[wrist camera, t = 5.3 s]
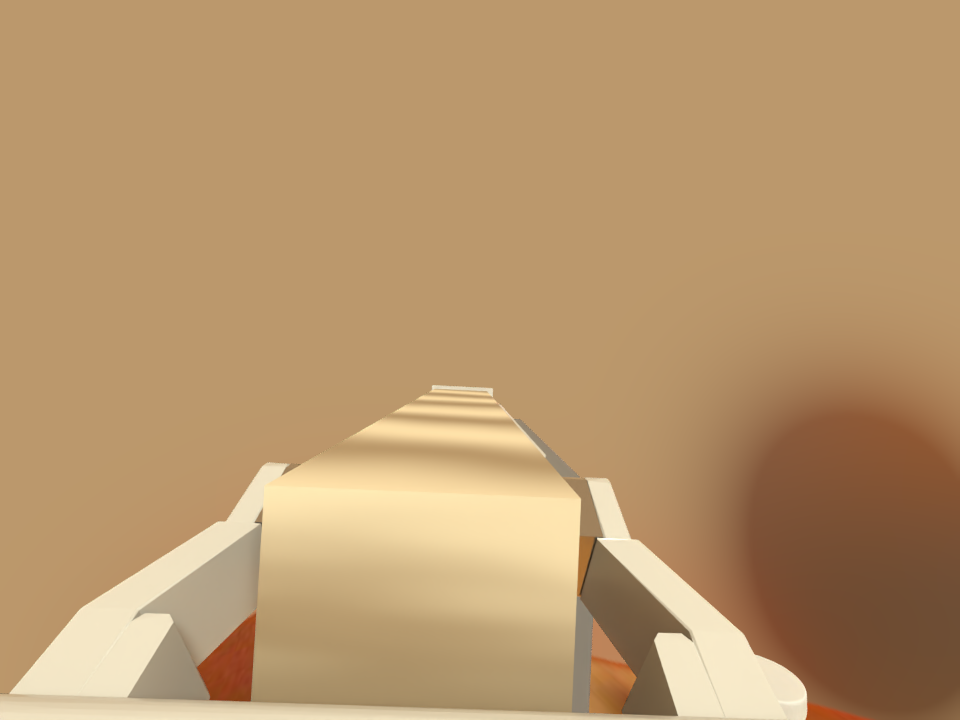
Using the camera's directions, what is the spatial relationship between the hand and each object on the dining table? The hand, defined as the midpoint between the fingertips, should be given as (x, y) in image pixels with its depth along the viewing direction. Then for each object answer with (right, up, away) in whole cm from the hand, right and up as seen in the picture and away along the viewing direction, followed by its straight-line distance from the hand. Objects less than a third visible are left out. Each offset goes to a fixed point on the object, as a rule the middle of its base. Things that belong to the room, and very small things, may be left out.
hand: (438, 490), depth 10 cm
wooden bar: (0, -2, +11) cm, 11 cm away
